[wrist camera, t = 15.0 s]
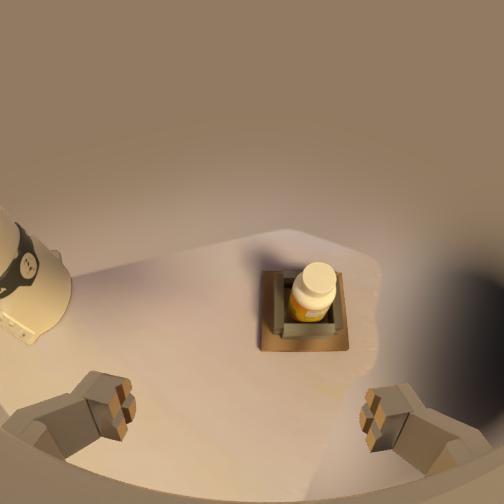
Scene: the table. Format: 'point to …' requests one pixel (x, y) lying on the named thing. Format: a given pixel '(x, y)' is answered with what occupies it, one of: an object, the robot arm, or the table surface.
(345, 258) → the table surface
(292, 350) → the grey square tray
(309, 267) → the supplement bottle
